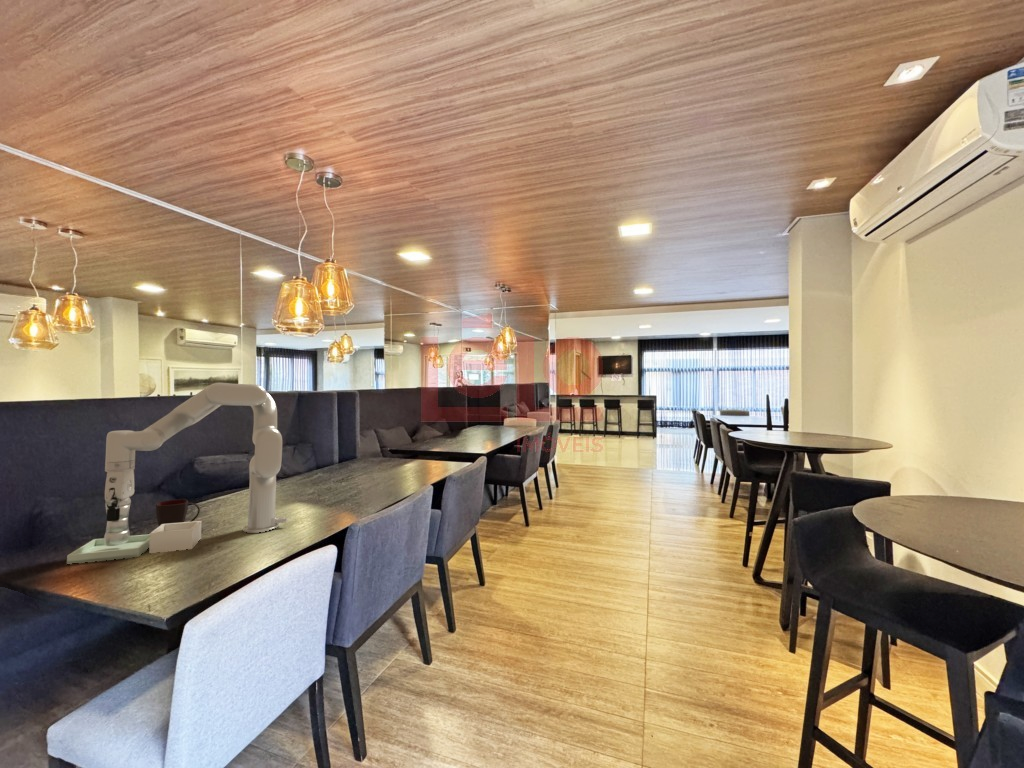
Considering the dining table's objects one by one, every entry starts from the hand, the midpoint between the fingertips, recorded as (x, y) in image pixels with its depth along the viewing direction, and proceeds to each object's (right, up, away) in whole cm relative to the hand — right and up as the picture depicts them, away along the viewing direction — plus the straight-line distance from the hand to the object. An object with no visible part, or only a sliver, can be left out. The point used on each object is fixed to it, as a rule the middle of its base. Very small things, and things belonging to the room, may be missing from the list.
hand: (117, 517), depth 143 cm
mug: (+3, -13, +22) cm, 25 cm away
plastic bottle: (0, -10, 0) cm, 10 cm away
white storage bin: (+15, -12, +6) cm, 21 cm away
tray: (0, -12, -1) cm, 12 cm away
